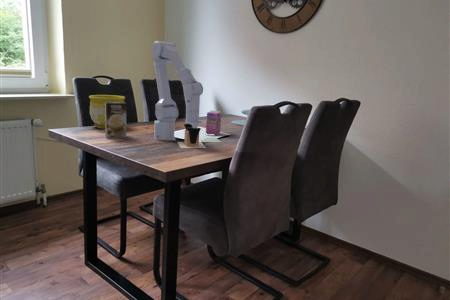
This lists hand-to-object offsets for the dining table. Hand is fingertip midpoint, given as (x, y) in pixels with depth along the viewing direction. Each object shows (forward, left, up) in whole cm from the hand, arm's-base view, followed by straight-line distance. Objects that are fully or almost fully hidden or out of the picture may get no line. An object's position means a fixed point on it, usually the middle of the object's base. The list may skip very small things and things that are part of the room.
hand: (191, 141), depth 149 cm
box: (+16, +28, -2) cm, 33 cm away
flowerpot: (-38, +46, -2) cm, 59 cm away
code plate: (0, 0, -2) cm, 2 cm away
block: (0, 0, -1) cm, 1 cm away
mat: (+10, +10, -2) cm, 15 cm away
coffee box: (-33, +20, -2) cm, 38 cm away
